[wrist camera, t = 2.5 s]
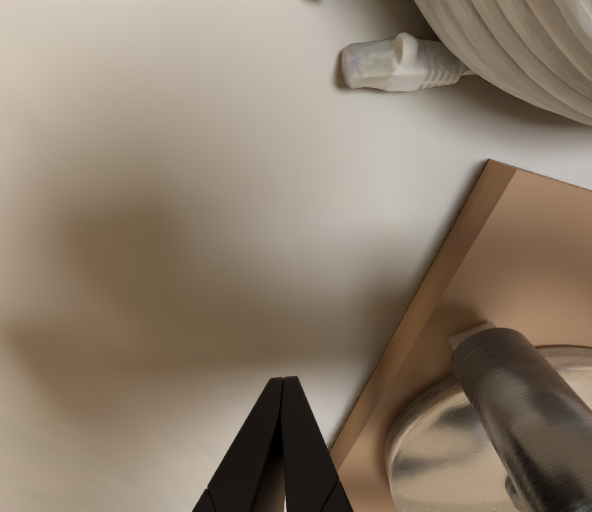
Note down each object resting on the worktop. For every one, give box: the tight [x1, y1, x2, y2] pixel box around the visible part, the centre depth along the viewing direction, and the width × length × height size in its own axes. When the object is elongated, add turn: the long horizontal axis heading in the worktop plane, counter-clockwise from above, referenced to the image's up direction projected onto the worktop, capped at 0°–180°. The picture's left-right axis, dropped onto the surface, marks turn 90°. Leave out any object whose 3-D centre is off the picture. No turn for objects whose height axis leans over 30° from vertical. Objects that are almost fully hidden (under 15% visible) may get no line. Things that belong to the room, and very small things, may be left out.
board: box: [329, 159, 592, 512], centre depth 15 cm, size 22×14×2 cm, turn 164°
